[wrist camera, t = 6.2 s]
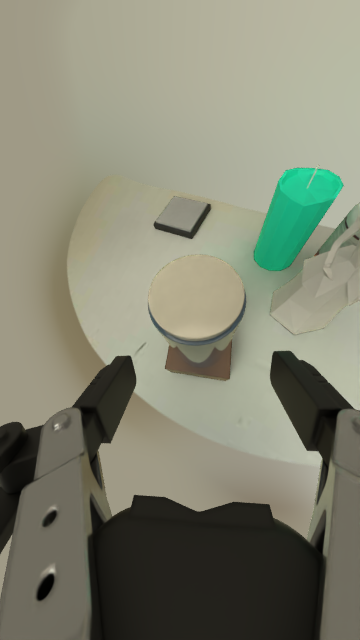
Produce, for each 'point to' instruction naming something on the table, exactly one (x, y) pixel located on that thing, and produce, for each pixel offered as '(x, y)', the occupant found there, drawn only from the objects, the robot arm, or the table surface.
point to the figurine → (320, 287)
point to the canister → (197, 307)
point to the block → (214, 372)
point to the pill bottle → (342, 227)
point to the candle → (294, 215)
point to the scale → (182, 216)
